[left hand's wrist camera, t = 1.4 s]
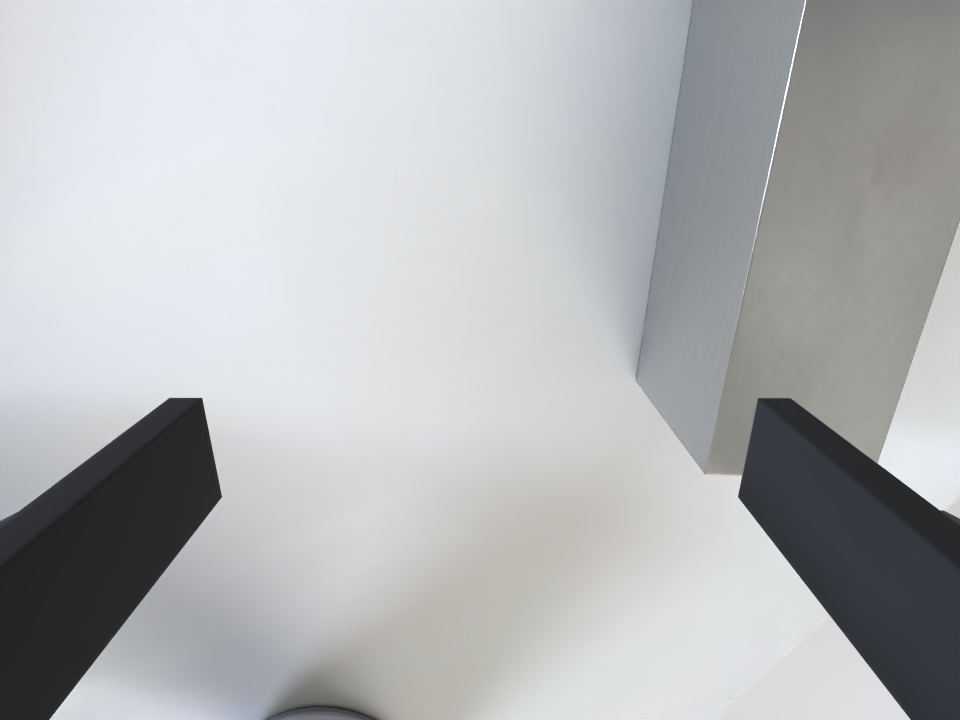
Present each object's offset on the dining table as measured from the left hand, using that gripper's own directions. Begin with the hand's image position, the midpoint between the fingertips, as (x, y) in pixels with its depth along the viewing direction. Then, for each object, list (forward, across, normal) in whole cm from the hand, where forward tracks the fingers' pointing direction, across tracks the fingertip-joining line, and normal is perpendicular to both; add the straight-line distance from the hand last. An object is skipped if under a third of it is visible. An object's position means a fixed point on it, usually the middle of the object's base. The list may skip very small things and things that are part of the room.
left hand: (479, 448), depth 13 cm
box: (+22, -15, -6) cm, 27 cm away
